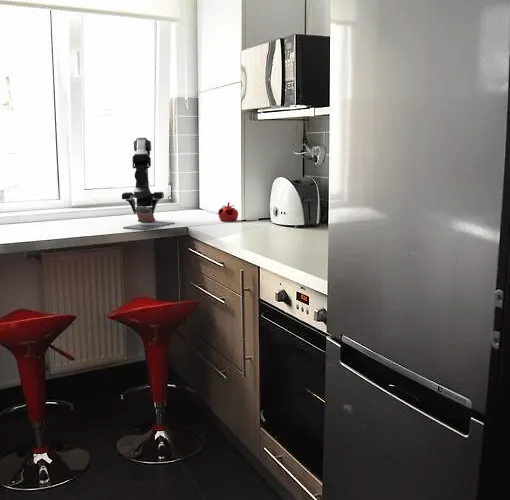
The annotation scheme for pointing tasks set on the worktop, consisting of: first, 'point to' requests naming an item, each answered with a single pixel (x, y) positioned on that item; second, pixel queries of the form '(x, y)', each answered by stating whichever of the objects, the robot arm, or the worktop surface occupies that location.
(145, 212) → the lighter
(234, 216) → the pomegranate
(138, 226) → the mat
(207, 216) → the worktop surface
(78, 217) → the worktop surface
